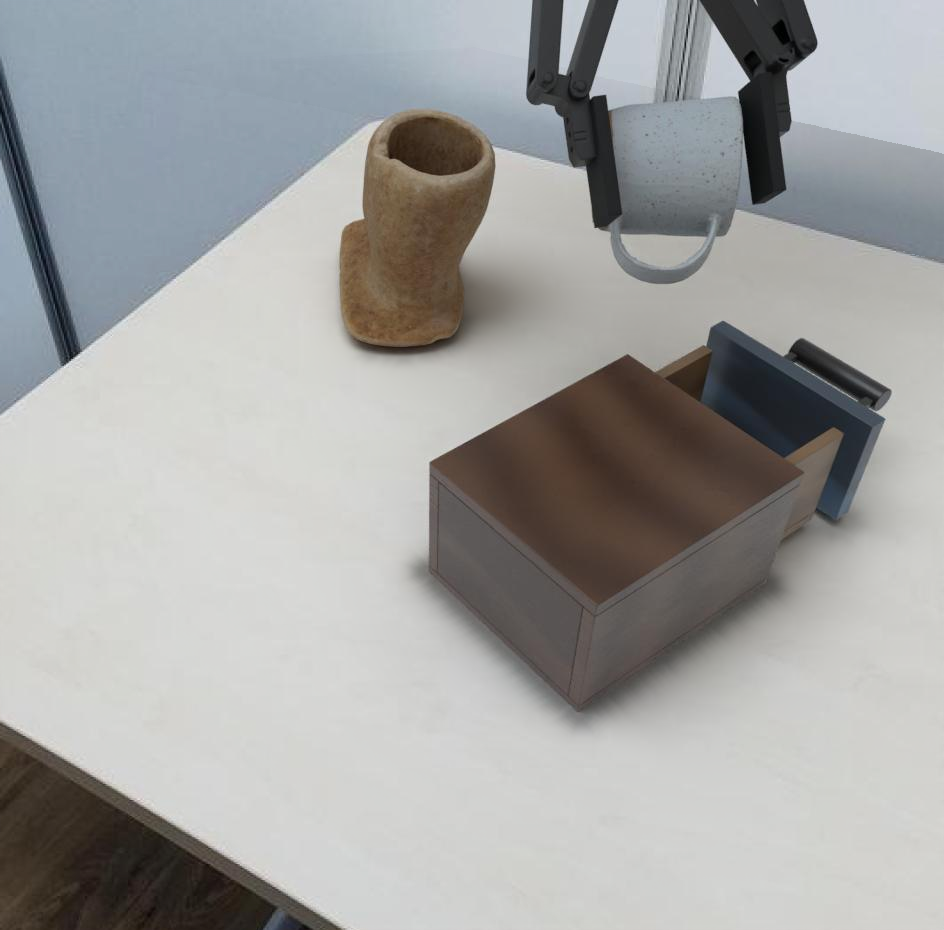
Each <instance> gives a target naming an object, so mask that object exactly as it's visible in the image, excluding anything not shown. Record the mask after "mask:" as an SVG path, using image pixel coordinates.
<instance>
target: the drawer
mask: <svg viewBox="0 0 944 930" xmlns="http://www.w3.org/2000/svg"><path fill="white" fill-rule="evenodd" d="M654 372H655V373H657V374H658V375H660V376H661V377H663V378H664V379H666V380H667V381H669V382H670V383H672V384H673V385H675V386H676V387H678V388H679V389H681V390H682V391H684V392H685V393H687V394H688V395H690V396H691V397H693V398H694V399H696V400H697V401H699V402H700V403H702V404H703V405H705V406H706V407H708V408H709V409H711V410H712V411H714V412H715V413H717V414H718V415H720V416H721V417H723V418H724V419H726V420H727V421H729V422H730V423H732V424H733V425H735V426H736V427H738V428H739V429H741V430H742V431H744V432H745V433H747V434H748V435H750V436H751V437H753V438H754V439H756V440H757V441H759V442H760V443H762V444H763V445H765V446H766V447H768V448H769V449H771V450H772V451H774V452H775V453H777V454H778V455H780V456H781V457H783V458H784V459H786V460H787V461H789V462H790V463H792V464H793V465H795V466H796V467H798V468H799V469H801V470H802V471H804V472H805V473H804V476H803V479H802V482H801V484H800V487H799V490H798V493H797V496H796V499H795V501H794V504H793V507H792V510H791V513H790V516H789V518H788V521H787V524H786V527H785V530H784V533H783V536H782V538H781V541H782V540H783V539H786V537H788V536H790V535H792V534H793V533H794V532H796V531H797V530H799V529H800V528H802V527H803V526H805V525H806V524H808V523H809V522H810V521H812V520H813V517H814V515H815V513H816V509H818V510H819V511H821V512H822V513H824V514H825V515H827V516H828V517H829V518H831V519H832V520H834V521H837V520H839V519H840V518H842V517H843V516H844V515H846V514H848V513H849V509H850V507H851V505H852V503H853V500H854V498H855V495H856V492H857V491H858V488H859V486H860V482H861V480H862V477H863V475H864V473H865V471H866V468H867V466H868V463H869V461H870V458H871V455H872V454H873V451H874V448H875V446H876V443H877V441H878V439H879V436H880V434H881V431H882V429H883V426H884V424H885V421H886V418H885V417H884V416H882V415H880V414H879V413H877V412H878V411H880V410H882V409H883V407H885V406H886V404H887V403H888V401H889V400H890V398H891V397H892V392H893V391H892V389H891V388H889V387H887V386H886V385H884V384H882V383H880V382H879V381H877V380H875V379H874V378H872V377H871V376H869V375H867V374H865V373H864V372H862V371H860V370H858V369H857V368H855V367H853V366H851V365H849V363H846V362H845V361H843V360H841V359H840V358H838V357H836V356H835V355H833V354H832V353H830V352H828V351H826V350H824V349H823V348H821V347H819V346H817V345H816V344H814V343H812V342H810V341H809V340H808V339H805V338H804V337H799V338H798V339H796V340H795V341H794V342H793V344H792V345H791V346H790V347H789V350H788V352H787V353H786V354H784V355H781V354H780V353H778V352H776V351H775V350H773V349H771V348H770V347H768V346H767V345H765V344H763V343H761V342H759V340H757V339H755V338H753V337H751V336H750V335H748V334H746V333H745V332H743V331H742V330H740V329H739V328H737V327H735V326H733V325H731V324H730V323H728V322H727V321H725V320H722V321H719V322H717V323H716V324H713V325H712V326H711V327H710V328H709V333H708V337H707V341H706V345H701V346H699V347H697V348H696V349H694V350H691V351H690V352H689V353H687V354H685V355H683V356H682V357H679V358H678V359H675V360H674V361H673V362H671V363H669V364H667V365H665V366H664V367H662V368H660V369H658V370H657V371H654Z"/></svg>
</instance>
